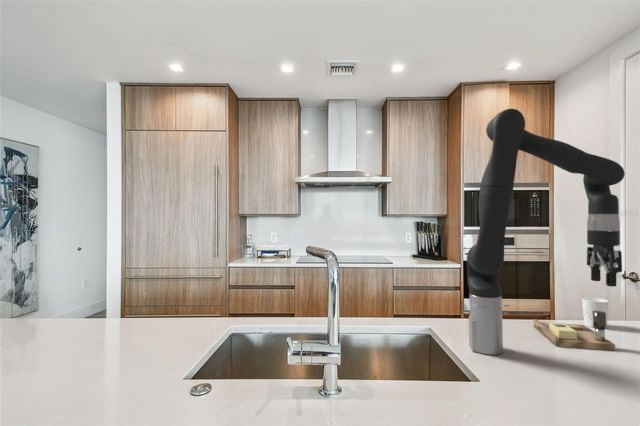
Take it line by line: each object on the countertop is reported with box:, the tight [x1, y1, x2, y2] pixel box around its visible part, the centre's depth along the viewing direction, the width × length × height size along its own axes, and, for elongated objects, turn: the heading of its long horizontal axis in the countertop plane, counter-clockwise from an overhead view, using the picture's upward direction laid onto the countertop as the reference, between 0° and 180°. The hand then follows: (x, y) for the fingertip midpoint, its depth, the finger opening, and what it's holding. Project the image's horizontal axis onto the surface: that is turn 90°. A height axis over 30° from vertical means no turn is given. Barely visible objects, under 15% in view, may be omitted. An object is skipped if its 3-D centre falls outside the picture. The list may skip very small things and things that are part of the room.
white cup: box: [581, 296, 609, 329], centre depth 128 cm, size 8×8×10 cm
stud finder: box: [548, 322, 577, 339], centre depth 113 cm, size 5×8×3 cm, turn 165°
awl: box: [592, 311, 607, 342], centre depth 108 cm, size 3×3×9 cm
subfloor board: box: [533, 318, 616, 352], centre depth 116 cm, size 16×20×3 cm
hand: (603, 283), depth 101 cm, fingers open, 8 cm apart
